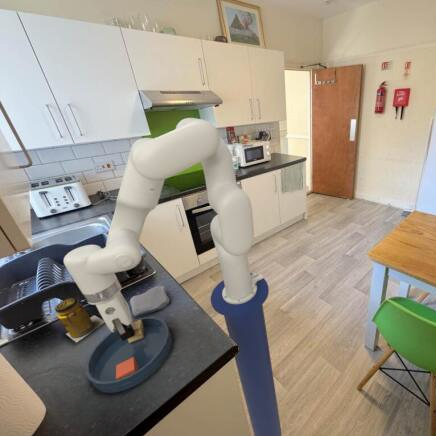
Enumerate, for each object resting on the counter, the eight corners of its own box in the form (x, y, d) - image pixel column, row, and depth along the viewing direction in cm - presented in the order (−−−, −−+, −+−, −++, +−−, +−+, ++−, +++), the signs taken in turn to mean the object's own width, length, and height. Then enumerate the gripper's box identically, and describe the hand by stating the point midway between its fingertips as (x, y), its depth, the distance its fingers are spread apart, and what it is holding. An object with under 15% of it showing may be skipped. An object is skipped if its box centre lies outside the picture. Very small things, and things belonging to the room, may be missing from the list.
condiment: (65, 334, 77) (46, 307, 72) (94, 315, 84) (79, 289, 79) (76, 343, 74) (57, 315, 69) (105, 322, 81) (90, 296, 75)
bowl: (163, 315, 82) (159, 307, 80) (180, 358, 68) (176, 349, 66) (91, 351, 71) (85, 343, 69) (93, 411, 57) (86, 402, 55)
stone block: (173, 307, 88) (165, 288, 94) (169, 299, 85) (161, 281, 91) (136, 325, 82) (131, 304, 88) (131, 318, 79) (126, 296, 85)
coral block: (138, 365, 66) (133, 356, 64) (139, 378, 63) (134, 369, 61) (121, 374, 64) (116, 365, 62) (121, 387, 61) (115, 378, 59)
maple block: (145, 328, 77) (141, 319, 76) (143, 337, 74) (139, 327, 72) (131, 334, 76) (126, 324, 74) (129, 343, 72) (124, 333, 71)
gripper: (122, 298, 59) (148, 346, 67) (116, 269, 69) (138, 314, 78) (85, 314, 55) (116, 363, 63) (84, 282, 65) (111, 327, 74)
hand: (128, 336), depth 70 cm, fingers closed
